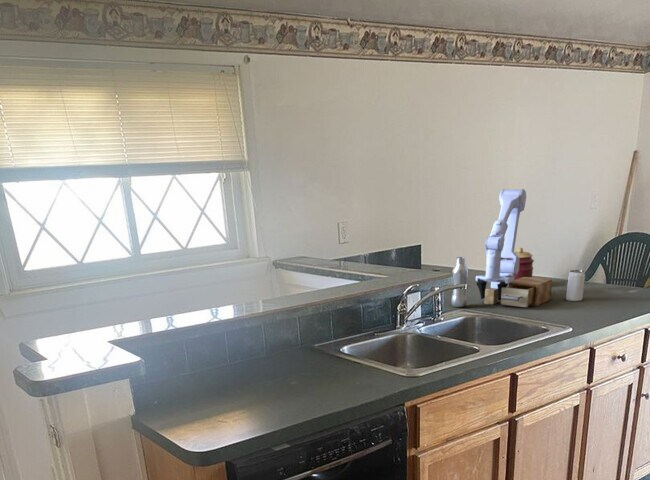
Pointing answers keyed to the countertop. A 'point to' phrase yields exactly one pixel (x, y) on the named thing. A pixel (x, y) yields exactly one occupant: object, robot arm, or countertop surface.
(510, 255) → the robot arm
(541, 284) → the cabinet
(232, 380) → the countertop surface
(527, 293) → the drawer
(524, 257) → the kitchen canister
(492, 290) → the block
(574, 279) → the can
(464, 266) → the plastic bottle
